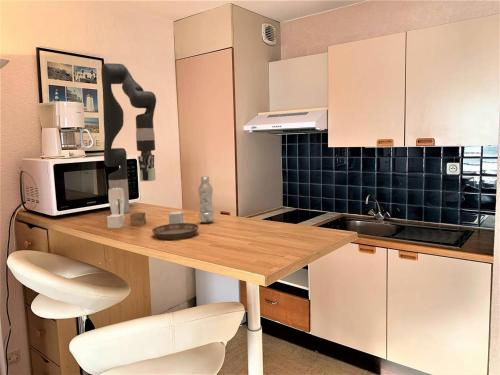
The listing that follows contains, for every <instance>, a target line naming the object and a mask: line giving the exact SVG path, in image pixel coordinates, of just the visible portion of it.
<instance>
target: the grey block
mask: <svg viewBox="0 0 500 375" xmlns="http://www.w3.org/2000/svg"><path fill="white" fill-rule="evenodd" d="M168 223H169V224H176V223H185V221H184V211H171V212H170V213H168Z"/></svg>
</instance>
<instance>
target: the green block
mask: <svg viewBox="0 0 500 375" xmlns="http://www.w3.org/2000/svg"><path fill="white" fill-rule="evenodd" d="M142 172H143V171H141V170H140V169H139V181H140V182H153V181H156V168H155V167H154V168H148V180H143V173H142Z"/></svg>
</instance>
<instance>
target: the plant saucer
mask: <svg viewBox="0 0 500 375" xmlns="http://www.w3.org/2000/svg"><path fill="white" fill-rule="evenodd" d="M199 227H200V226H199V225H198V224H197V223H190V222H189V223H188V222H184V223H176V224H167V223H166V224H163V225H159V226H155V227H153V228H152V229H151V232H152V233H153V234H154V236H155V237H157V238H158V239H160V240H181V238H182V239H186V237H187V238H189V237H190V238H191V237H192V236H194V235H195V234H196V232H197V231H198V230H199Z"/></svg>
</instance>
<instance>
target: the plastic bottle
mask: <svg viewBox="0 0 500 375" xmlns="http://www.w3.org/2000/svg"><path fill="white" fill-rule="evenodd" d="M213 190H214V189H213V186H212V185H211V183H210V176H200V184H199V186H198V189H197V192H198V198H199V218H198V219H199V221H200V222H201V223H205V224H208V223H212V222H214V218H215V214H214V208H213Z"/></svg>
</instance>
